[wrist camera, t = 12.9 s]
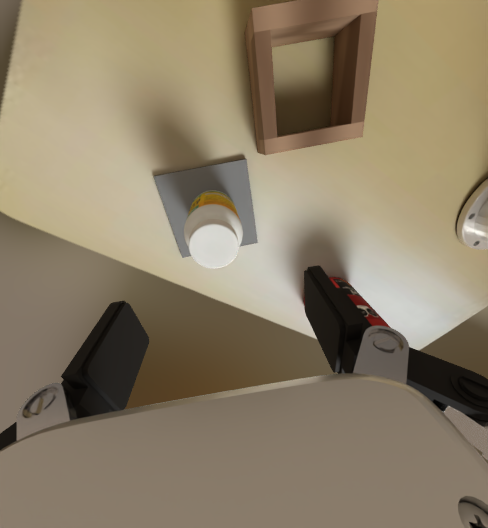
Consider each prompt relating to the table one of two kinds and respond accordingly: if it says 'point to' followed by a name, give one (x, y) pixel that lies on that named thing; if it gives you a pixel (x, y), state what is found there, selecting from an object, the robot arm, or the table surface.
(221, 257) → the supplement bottle
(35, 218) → the table surface
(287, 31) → the sleeve holder
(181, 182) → the rubber mat
